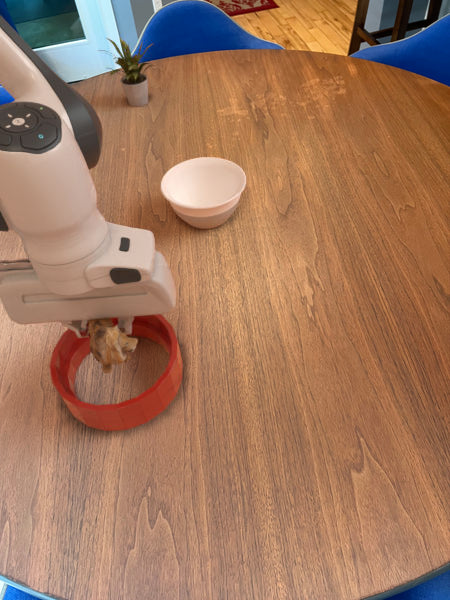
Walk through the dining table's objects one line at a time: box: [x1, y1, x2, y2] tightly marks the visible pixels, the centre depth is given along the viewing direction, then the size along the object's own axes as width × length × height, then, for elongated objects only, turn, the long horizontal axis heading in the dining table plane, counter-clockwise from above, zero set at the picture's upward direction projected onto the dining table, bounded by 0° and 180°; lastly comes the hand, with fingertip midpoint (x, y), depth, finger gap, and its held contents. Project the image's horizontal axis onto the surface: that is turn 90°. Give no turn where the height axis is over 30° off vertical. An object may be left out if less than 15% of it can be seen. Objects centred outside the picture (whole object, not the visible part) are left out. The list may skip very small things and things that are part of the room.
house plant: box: [98, 37, 155, 108], centre depth 123 cm, size 14×14×16 cm
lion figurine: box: [88, 318, 139, 374], centre depth 61 cm, size 15×5×9 cm, turn 30°
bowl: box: [160, 156, 247, 230], centre depth 91 cm, size 16×16×9 cm
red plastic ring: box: [49, 314, 184, 432], centre depth 69 cm, size 18×18×6 cm
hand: (106, 332), depth 63 cm, fingers closed on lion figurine, 4 cm apart
